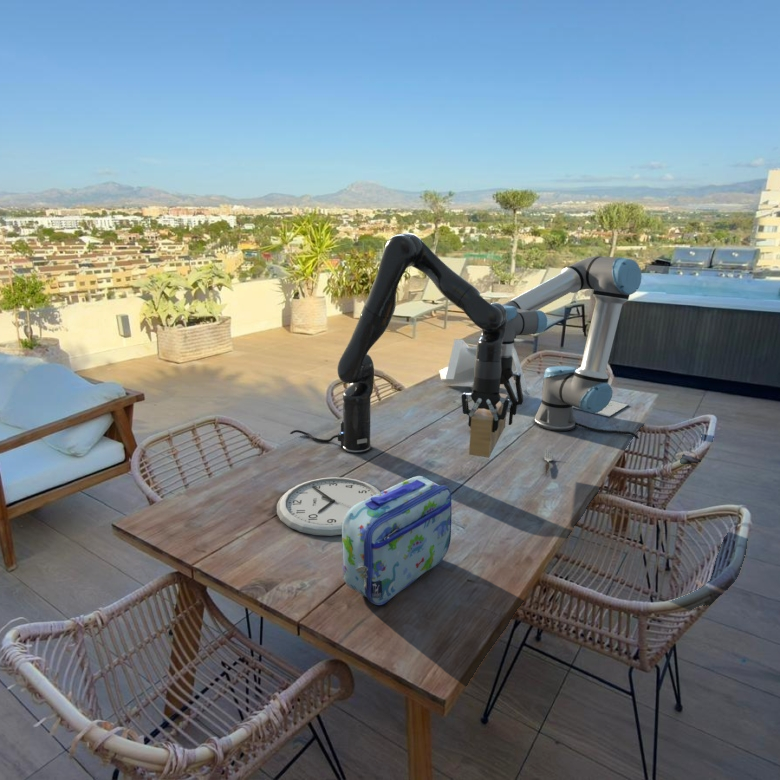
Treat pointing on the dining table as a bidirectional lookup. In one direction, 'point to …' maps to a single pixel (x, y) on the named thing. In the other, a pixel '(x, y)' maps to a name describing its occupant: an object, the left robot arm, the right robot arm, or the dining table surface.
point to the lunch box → (395, 537)
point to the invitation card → (611, 408)
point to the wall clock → (322, 504)
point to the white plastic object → (471, 366)
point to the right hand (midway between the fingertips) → (495, 421)
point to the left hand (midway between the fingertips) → (483, 429)
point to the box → (485, 431)
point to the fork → (548, 460)
